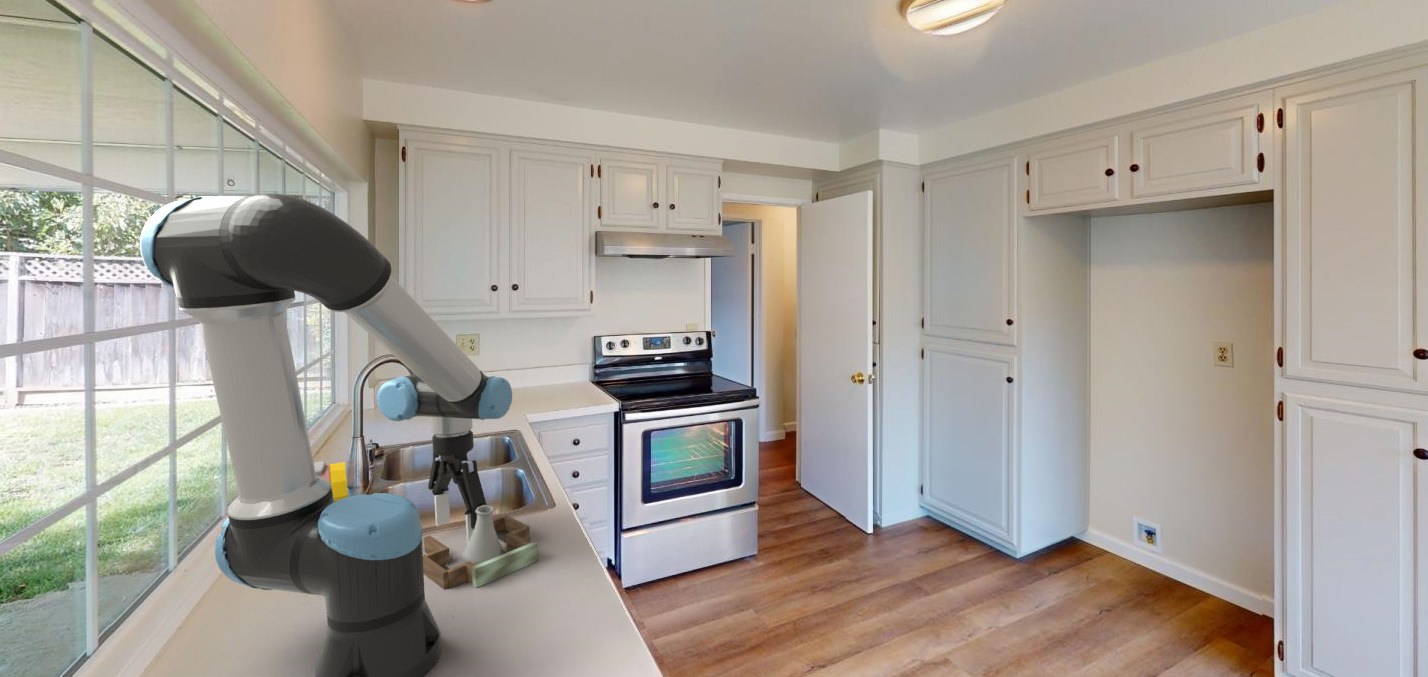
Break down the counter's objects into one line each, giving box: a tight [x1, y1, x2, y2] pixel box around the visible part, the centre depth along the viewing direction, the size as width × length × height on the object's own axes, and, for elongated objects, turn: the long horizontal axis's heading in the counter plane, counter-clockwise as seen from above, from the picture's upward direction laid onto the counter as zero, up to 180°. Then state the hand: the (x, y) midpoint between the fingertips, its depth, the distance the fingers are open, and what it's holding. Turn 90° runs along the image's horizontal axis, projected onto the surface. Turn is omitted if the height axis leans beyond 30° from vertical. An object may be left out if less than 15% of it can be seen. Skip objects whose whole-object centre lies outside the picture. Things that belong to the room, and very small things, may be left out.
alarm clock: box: [313, 460, 349, 502], centre depth 111 cm, size 15×8×18 cm, turn 36°
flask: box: [460, 504, 504, 565], centre depth 107 cm, size 7×7×10 cm
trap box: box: [423, 514, 539, 590], centre depth 109 cm, size 20×21×4 cm
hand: (458, 532), depth 115 cm, fingers open, 13 cm apart
